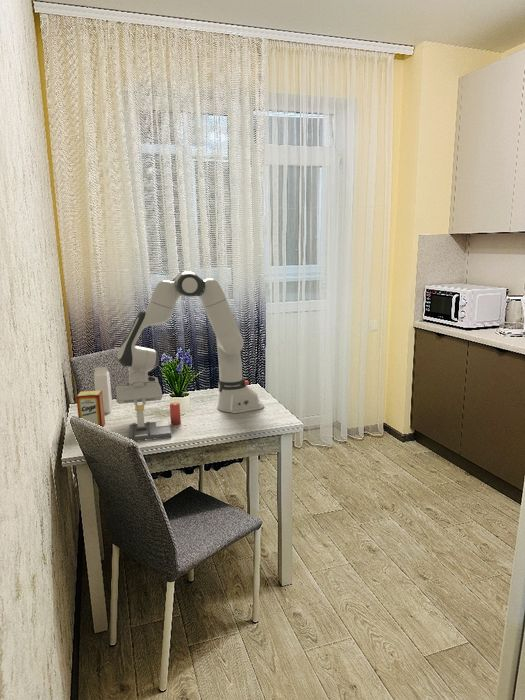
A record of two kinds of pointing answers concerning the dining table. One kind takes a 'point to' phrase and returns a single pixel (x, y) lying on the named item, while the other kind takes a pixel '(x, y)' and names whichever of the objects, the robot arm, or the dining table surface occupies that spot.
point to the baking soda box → (91, 407)
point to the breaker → (140, 418)
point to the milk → (103, 386)
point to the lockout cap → (175, 413)
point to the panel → (150, 431)
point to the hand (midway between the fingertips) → (140, 409)
